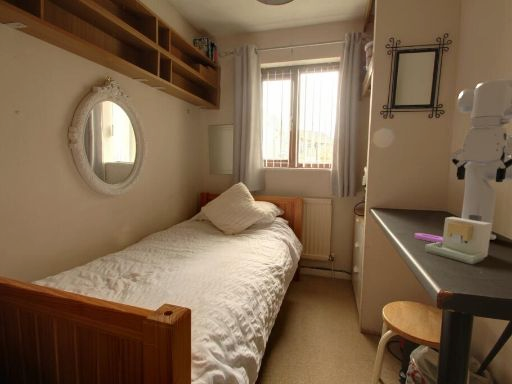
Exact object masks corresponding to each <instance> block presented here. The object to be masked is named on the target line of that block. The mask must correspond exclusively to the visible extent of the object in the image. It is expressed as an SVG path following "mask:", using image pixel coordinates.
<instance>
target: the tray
mask: <svg viewBox="0 0 512 384" xmlns="http://www.w3.org/2000/svg"><path fill="white" fill-rule="evenodd" d="M424 252H426V253H430V254H433V255H437V256H440V257H444V258H448V259H451V260H455V261H459V262H461V263H466V264H468V265H474V264H477V263H480V262H483V261H484V260H485V258H486V257H485V253H482V252H481V253H478V254H475V255H473V254H470V253H466V252H462V251H458V250H454V249H450V248H446V247H442V244H441V242H436V243H435V242H431V243H428V244H425V247H424Z"/></svg>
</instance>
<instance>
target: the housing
mask: <svg viewBox="0 0 512 384" xmlns="http://www.w3.org/2000/svg"><path fill="white" fill-rule="evenodd" d="M451 222H456V223H462V224H467V225H473V232H472V240H468V242H466V243H462V244H459V243H455V242H451V237H447V231H448V223H451ZM491 225H492V226H493V223H487V222H481V221H475V220H469V219H463V218H461V217H456V216H449V217H445V219H444V225H443V233H442V234H443V235H442V237H443V242H442V244H441V246H442V247H446V248H450V249H454V250H458V251H462V252H466V253H470V254H473V255H475V254H478V253H481V252H482V253H485V257H484V258H487V257H488V253H489V246H490V232H491V233H492V230H491Z"/></svg>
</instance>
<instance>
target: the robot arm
mask: <svg viewBox="0 0 512 384" xmlns="http://www.w3.org/2000/svg"><path fill="white" fill-rule="evenodd" d="M456 108H457V111H458V112H459V113H461V114H470V126H469V127H470V128H469V129H467V131H466V132H465V133H466V134H465V135H464V139H463V142H462V146H461V148H460V149H458V150H455V151H453V152H451V153H449V158H450V159H451V162H452V164H454V165H455V167H456V168H457V169H456V178H457V180H459V181H460V180H461V181H462V180H464V181H465V182H464V183H465V184H464V194H463V202H462V210H461V217H460V218H463V219H469V215H478V216H482V218H481V222H487V223H492V225H491V232H490V240H491V241H492V240H493V241H494V240H496V239H497V235H496V234H493V233H492V230H493V222H494V214H495V206H496V200H497V191H496V189H495V187H494V186H493V185H492V184H491V183H490V181H495V182H496V183H503V182H512V134H508V131H507V128H506V127H504V125H506V124H510V121H511V120H512V77H510V78H509V77H508V78H503V79H495V80H487V81H483V82H480V83H478V84H477V85H476V86H472V87H468V88H465V89H463V90H462V91H461V92H460V93H459V95H458V97H457V101H456ZM510 119H511V120H510ZM459 155H460V160H459V158H458V156H459ZM490 240H489V241H490Z"/></svg>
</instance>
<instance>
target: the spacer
mask: <svg viewBox="0 0 512 384" xmlns="http://www.w3.org/2000/svg"><path fill="white" fill-rule="evenodd" d="M472 232H473V225H467V224H462V223H456V222H451V223H448V231H447V237H452V234H456V235H461V236H463V239H462V240H464V241H468V240H472Z"/></svg>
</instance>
